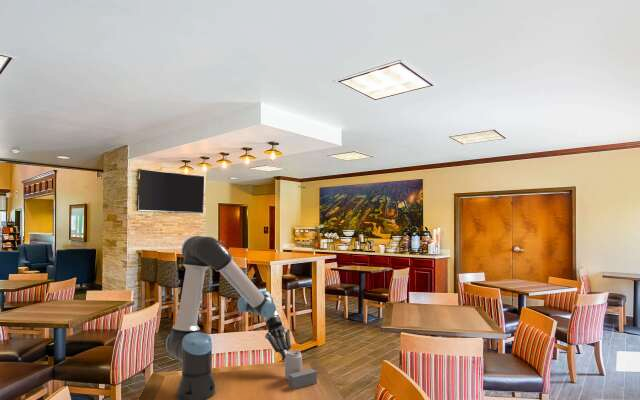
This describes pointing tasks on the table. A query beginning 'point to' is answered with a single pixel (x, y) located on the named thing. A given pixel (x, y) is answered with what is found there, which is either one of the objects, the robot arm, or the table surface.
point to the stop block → (302, 379)
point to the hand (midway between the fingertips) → (289, 364)
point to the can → (293, 363)
